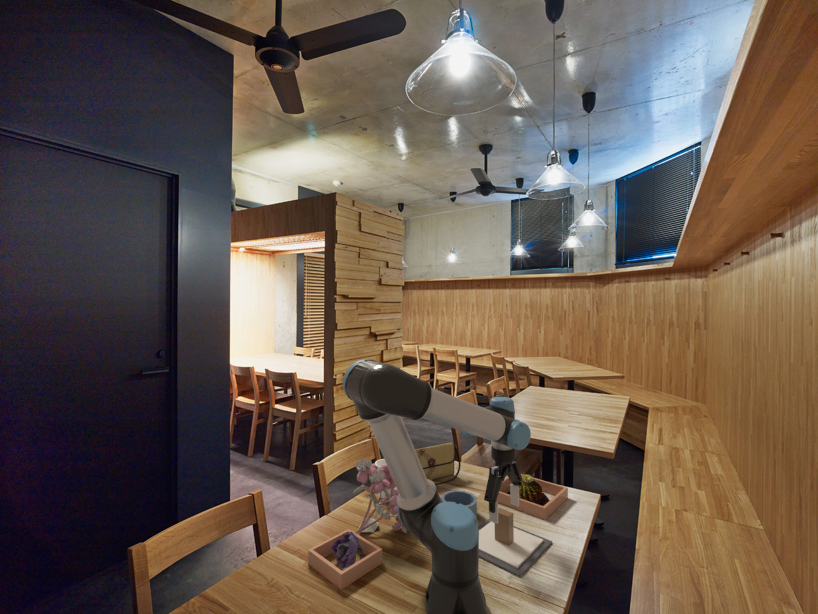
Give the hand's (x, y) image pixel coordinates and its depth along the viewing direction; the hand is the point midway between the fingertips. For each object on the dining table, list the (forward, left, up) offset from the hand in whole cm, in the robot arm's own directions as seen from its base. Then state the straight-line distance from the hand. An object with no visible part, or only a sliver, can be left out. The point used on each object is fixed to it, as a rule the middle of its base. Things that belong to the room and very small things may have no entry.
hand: (504, 513), depth 122 cm
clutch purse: (+20, +46, -10) cm, 51 cm away
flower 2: (-19, +33, -10) cm, 40 cm away
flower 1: (-39, +30, -10) cm, 50 cm away
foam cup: (-2, +52, -10) cm, 53 cm away
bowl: (+5, +21, -10) cm, 24 cm away
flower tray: (-40, +30, -10) cm, 51 cm away
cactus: (+32, +8, -10) cm, 35 cm away
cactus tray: (+34, +8, -10) cm, 36 cm away
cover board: (0, 0, -9) cm, 9 cm away
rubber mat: (0, 0, -10) cm, 10 cm away
